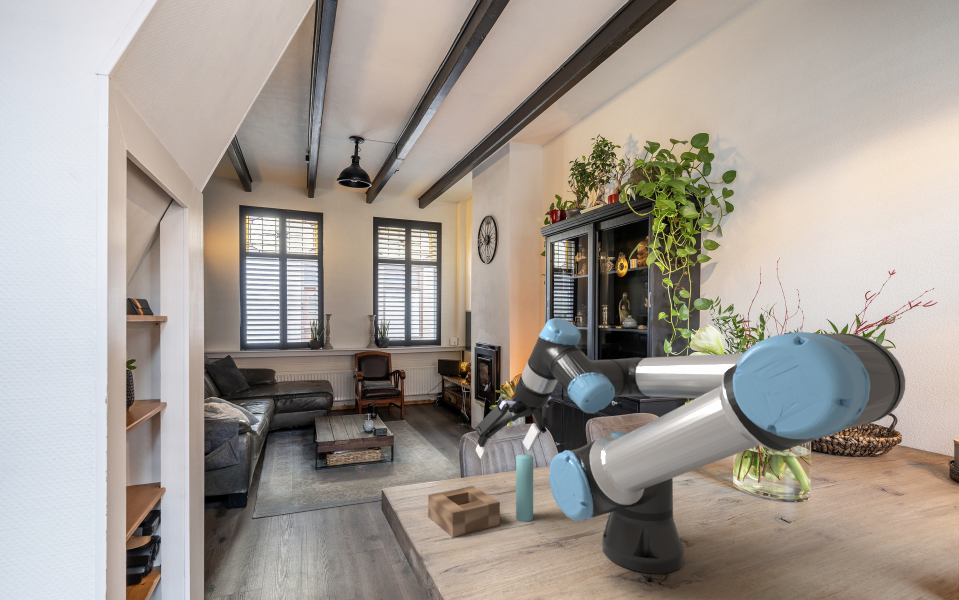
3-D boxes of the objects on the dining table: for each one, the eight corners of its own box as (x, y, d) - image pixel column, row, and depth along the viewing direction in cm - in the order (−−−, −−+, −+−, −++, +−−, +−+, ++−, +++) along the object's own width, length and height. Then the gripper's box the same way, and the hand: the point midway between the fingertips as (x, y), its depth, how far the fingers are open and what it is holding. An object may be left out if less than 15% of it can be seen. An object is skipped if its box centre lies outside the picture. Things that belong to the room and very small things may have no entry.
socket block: (499, 524, 103) (499, 501, 103) (452, 537, 97) (452, 513, 97) (472, 506, 113) (472, 485, 114) (428, 516, 107) (428, 495, 107)
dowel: (536, 519, 106) (536, 457, 107) (522, 523, 104) (523, 460, 105) (526, 513, 110) (526, 453, 110) (512, 516, 107) (512, 456, 108)
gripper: (570, 369, 109) (536, 432, 118) (480, 374, 96) (451, 444, 105) (588, 391, 103) (552, 455, 113) (496, 399, 90) (464, 471, 100)
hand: (503, 450), depth 109 cm, fingers open, 13 cm apart
